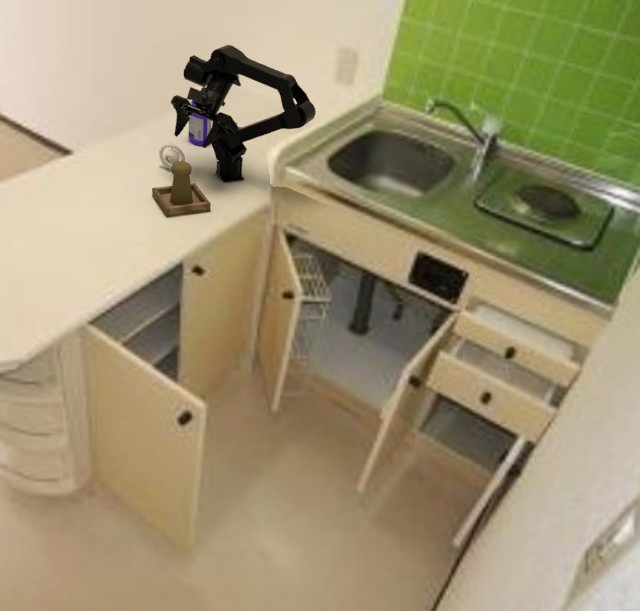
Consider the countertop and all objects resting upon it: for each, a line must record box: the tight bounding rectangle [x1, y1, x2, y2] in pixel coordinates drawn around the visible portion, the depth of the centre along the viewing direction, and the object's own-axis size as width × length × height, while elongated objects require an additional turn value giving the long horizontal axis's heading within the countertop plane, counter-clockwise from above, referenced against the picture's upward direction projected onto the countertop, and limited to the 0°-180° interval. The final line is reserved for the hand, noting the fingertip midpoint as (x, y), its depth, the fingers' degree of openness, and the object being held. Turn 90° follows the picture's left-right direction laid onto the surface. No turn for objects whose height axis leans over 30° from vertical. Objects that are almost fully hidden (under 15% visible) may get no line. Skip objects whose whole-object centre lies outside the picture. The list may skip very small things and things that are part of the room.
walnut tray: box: [151, 182, 211, 218], centre depth 172 cm, size 12×12×2 cm
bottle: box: [188, 86, 213, 147], centre depth 201 cm, size 7×6×17 cm
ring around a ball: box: [158, 143, 186, 170], centre depth 187 cm, size 8×6×8 cm
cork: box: [170, 160, 193, 206], centre depth 169 cm, size 6×6×11 cm
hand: (189, 141), depth 173 cm, fingers open, 9 cm apart
